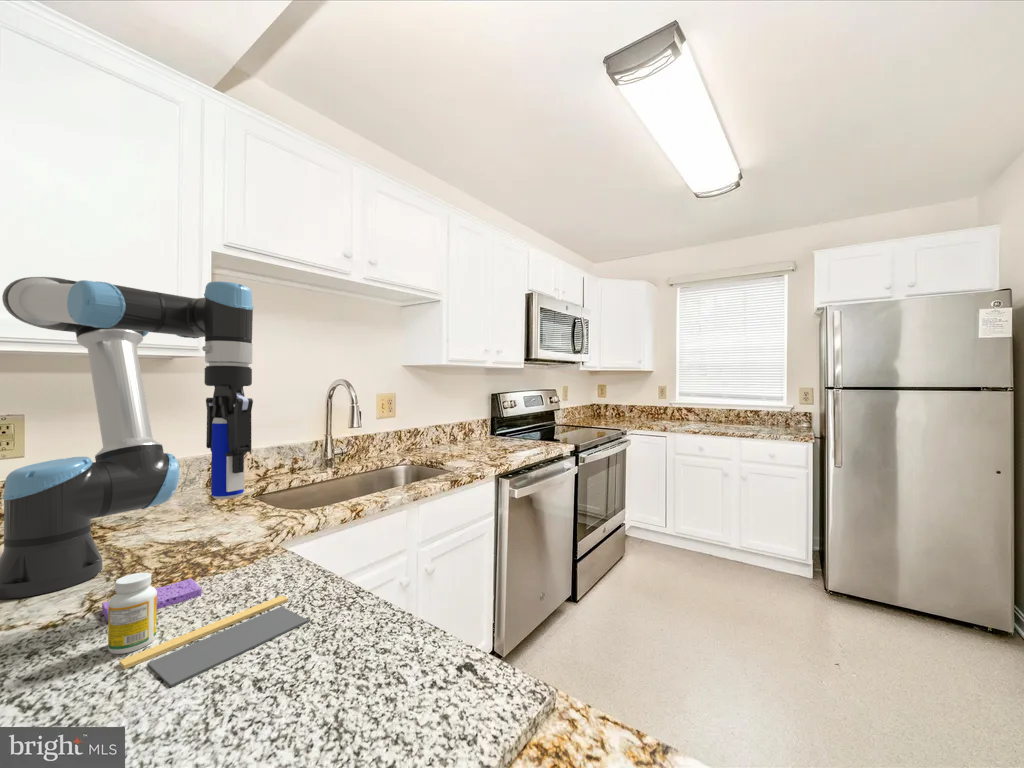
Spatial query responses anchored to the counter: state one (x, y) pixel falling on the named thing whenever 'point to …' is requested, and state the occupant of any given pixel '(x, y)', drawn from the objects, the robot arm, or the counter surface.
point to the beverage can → (220, 461)
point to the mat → (224, 646)
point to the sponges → (170, 594)
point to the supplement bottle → (132, 614)
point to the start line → (199, 633)
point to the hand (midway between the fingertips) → (227, 487)
